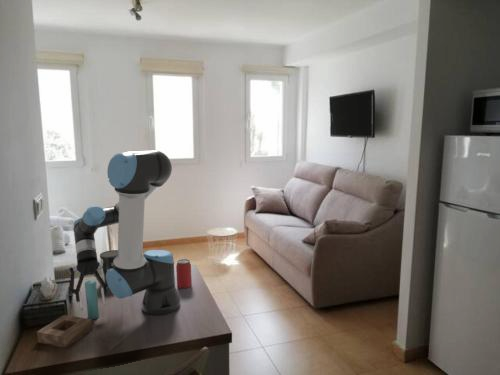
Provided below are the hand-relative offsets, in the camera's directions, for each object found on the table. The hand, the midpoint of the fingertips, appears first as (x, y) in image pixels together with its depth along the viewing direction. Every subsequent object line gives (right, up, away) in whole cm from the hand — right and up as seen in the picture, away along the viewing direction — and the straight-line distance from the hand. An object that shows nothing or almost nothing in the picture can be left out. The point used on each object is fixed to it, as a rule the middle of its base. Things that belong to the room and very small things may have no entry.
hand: (93, 306), depth 140 cm
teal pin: (-2, -5, +4) cm, 7 cm away
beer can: (+29, 0, +30) cm, 42 cm away
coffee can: (-6, 0, +36) cm, 37 cm away
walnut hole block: (-6, -7, -9) cm, 13 cm away
